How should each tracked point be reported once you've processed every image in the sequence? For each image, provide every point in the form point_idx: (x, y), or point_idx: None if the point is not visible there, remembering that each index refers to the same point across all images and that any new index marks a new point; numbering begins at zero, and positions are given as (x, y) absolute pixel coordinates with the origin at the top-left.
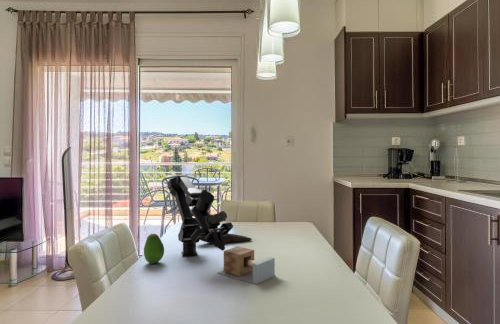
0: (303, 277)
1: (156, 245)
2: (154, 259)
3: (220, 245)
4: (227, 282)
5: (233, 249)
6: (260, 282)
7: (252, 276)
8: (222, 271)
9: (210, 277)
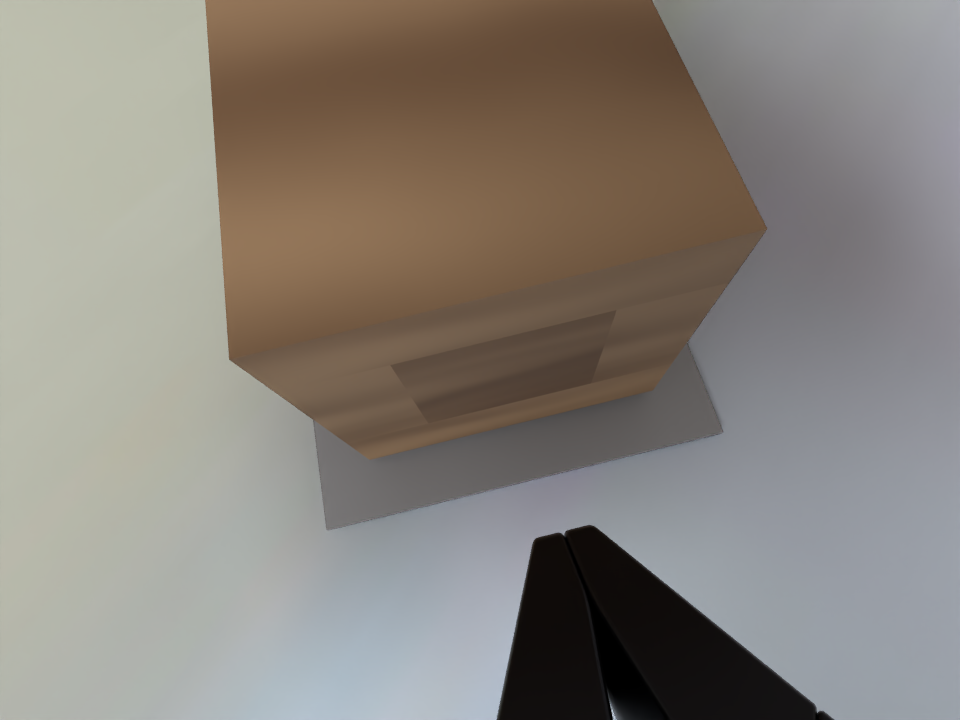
0: None
1: None
2: None
3: (688, 618)
4: (748, 144)
5: (497, 199)
6: None
7: None
8: (645, 437)
9: (868, 362)
